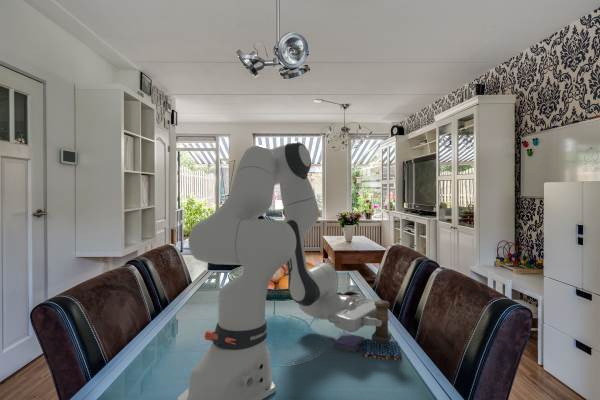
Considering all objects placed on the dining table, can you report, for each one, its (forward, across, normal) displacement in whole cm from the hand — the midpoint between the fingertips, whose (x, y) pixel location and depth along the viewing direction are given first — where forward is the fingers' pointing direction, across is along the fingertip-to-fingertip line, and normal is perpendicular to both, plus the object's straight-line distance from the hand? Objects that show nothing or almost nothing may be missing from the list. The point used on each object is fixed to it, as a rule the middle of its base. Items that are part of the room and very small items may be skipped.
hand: (384, 320), depth 98 cm
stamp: (-1, 0, +6) cm, 6 cm away
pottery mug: (-27, +26, +10) cm, 39 cm away
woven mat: (-1, 0, +10) cm, 10 cm away
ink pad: (-10, -2, +9) cm, 14 cm away
